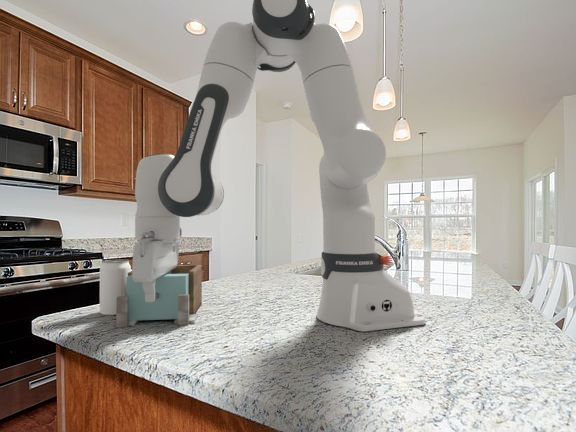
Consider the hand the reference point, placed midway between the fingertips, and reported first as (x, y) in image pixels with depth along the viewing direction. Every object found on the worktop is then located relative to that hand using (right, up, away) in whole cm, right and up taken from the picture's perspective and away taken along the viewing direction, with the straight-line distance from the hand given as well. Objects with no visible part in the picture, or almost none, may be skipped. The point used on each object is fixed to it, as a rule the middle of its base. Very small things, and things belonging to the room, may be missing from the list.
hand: (157, 296), depth 69 cm
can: (-13, -6, +7) cm, 16 cm away
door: (0, -5, 0) cm, 5 cm away
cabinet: (-1, -5, +5) cm, 7 cm away
